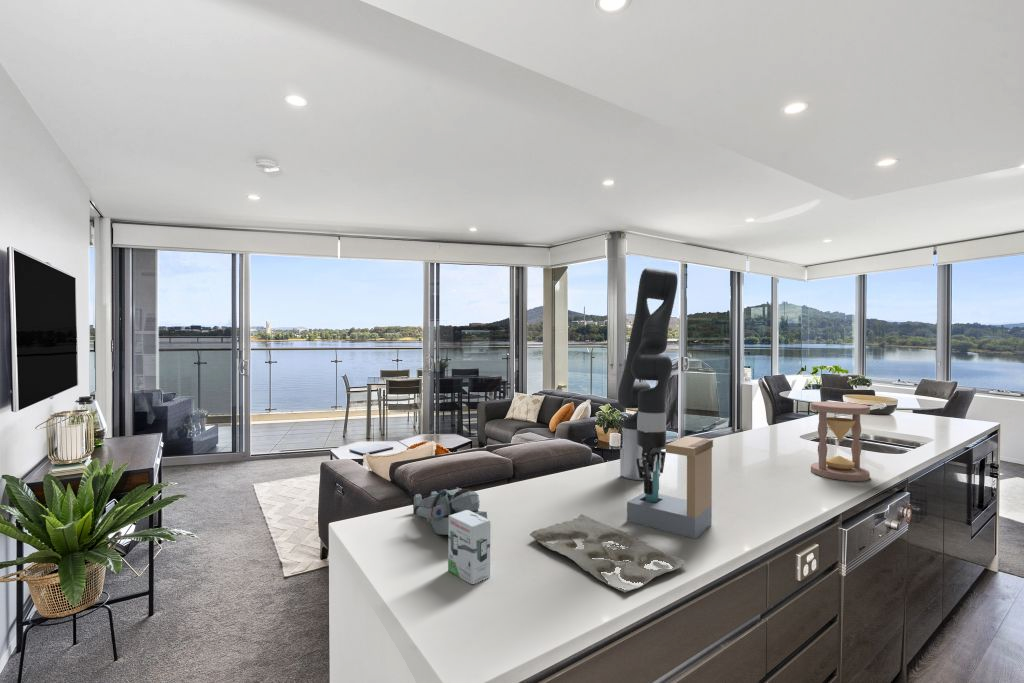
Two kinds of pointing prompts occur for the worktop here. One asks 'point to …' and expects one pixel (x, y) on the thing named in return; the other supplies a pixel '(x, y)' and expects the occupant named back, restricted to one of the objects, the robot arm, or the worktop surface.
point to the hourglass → (840, 426)
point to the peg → (653, 497)
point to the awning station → (675, 511)
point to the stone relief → (605, 550)
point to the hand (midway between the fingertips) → (651, 491)
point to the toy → (446, 506)
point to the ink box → (469, 546)
